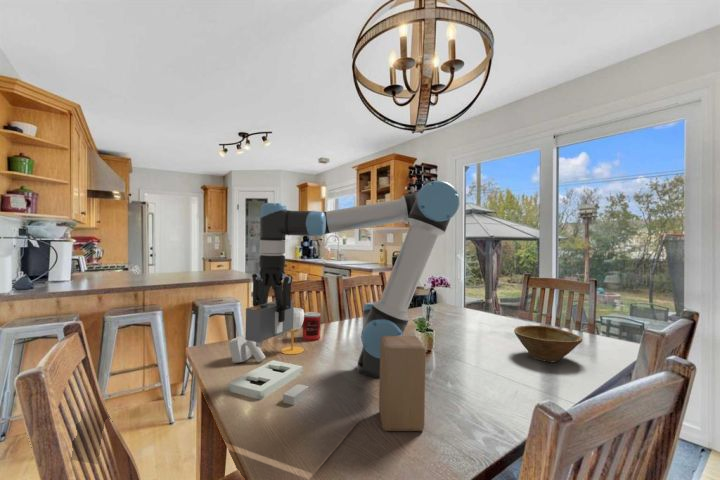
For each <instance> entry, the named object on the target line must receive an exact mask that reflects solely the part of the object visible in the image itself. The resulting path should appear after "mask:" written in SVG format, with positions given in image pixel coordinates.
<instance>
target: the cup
mask: <svg viewBox="0 0 720 480" xmlns="http://www.w3.org/2000/svg"><path fill="white" fill-rule="evenodd" d="M304 313H305V311H304V309H302V308H300V307H299V308H298V307H294V314H293V329H291V330H289V331H287V332H288V333H291V340H290V341H291V344H290V346H286V347H283V348H281V349H280V353H282V354H284V355H287V356H288V355H290V356H292V355H299V354H301V353H303V352H304V351H305V349H304V348H303V347H301V346H295V345H294V335H295V333H297V332H299V330H300V329H301V328H302V327H303V320H304Z"/></svg>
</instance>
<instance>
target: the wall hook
mask: <svg viewBox="0 0 720 480" xmlns="http://www.w3.org/2000/svg"><path fill="white" fill-rule="evenodd" d="M228 346H229V347H228V348H229V350H230V356H231V361H232V363H233V364H237V363H238V364H239V363H243V362H245V361H247V360H248V359H250V358H251V357H252V356H253V357H254V358H255V360H256V362H257V363H260V362H262V361H263V360H264V359H266V358H267V357H266V356H265V354H264V351H262V349H261V347H256V342H254V341H248V340H245V334H242V335H239V336H236V337H235V338H233V339H230V341H229V343H228Z"/></svg>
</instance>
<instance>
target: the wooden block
mask: <svg viewBox="0 0 720 480" xmlns="http://www.w3.org/2000/svg"><path fill="white" fill-rule="evenodd" d="M426 352H427V351H426V347H425V346H424V344H423V343H422V341H421V340H420V338H419V337H418V336H416V335H403V336H382V337H381V339H380V378H379V384H378V385H379V386H378V387H379V388H378V389H379V393H378V394H379V395H378V397H379V398H378V399H379V400H378V410H379V417H380V421H381V427H382V429H383V431H386V432H415V431H416V432H422V431H423V430H424V429H425V413H426V412H425V411H426V410H425V408H426V406H425V405H426V362H427V361H426V358H427V357H426V356H427V353H426Z"/></svg>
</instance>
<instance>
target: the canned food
mask: <svg viewBox="0 0 720 480" xmlns="http://www.w3.org/2000/svg"><path fill="white" fill-rule="evenodd" d="M320 338H321V313H320V312H319V311H318V312H317V311H307V312H304V320H303V324H302V339H303V340H304V341H307V342H316V341H319V340H320Z"/></svg>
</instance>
